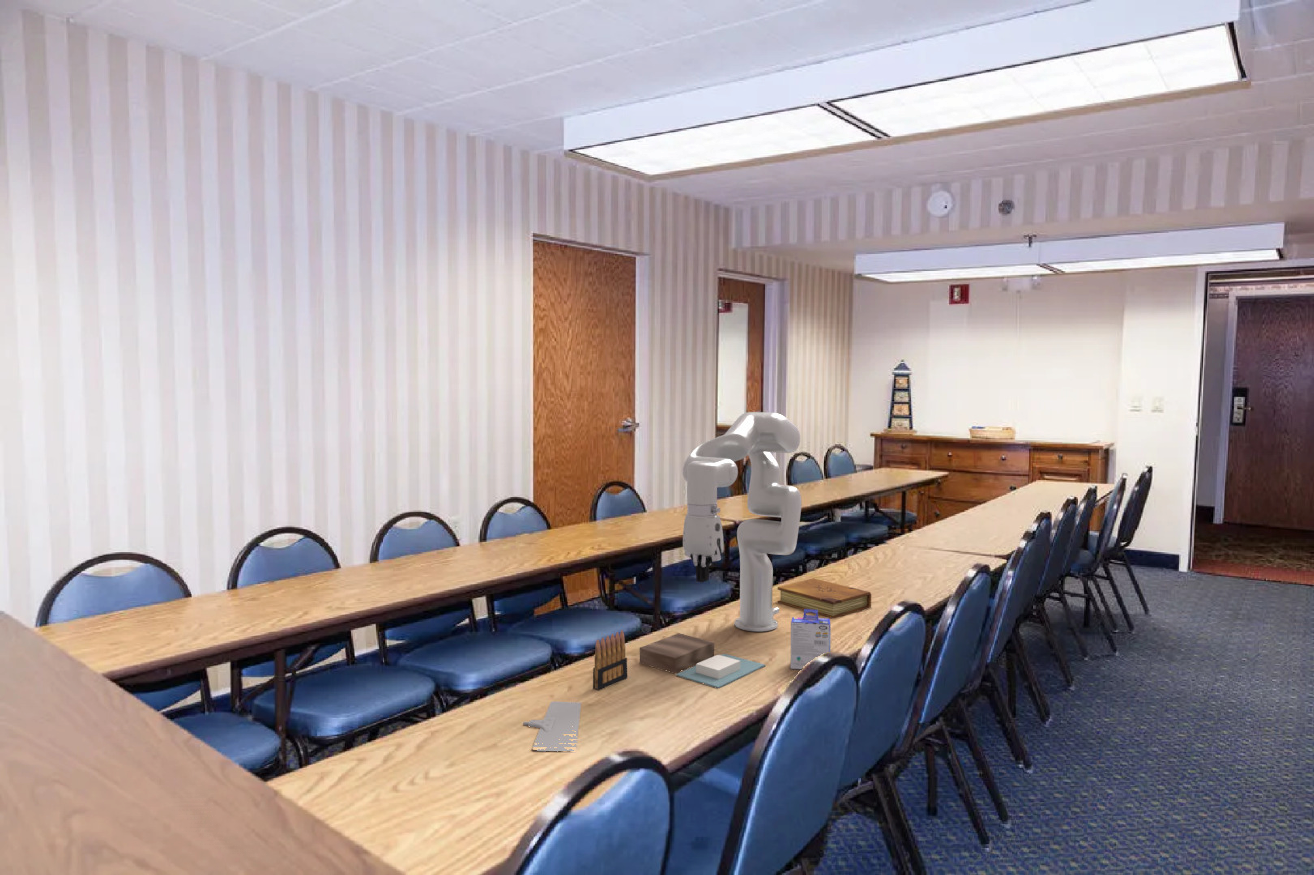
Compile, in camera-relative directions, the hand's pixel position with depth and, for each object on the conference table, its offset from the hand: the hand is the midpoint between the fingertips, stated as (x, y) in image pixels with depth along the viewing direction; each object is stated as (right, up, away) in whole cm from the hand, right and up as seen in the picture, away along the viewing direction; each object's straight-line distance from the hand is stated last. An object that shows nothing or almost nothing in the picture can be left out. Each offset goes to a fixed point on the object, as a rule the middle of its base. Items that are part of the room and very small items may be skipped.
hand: (702, 580), depth 214 cm
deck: (-6, -21, +4) cm, 23 cm away
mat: (+4, -22, -4) cm, 23 cm away
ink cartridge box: (+27, -22, -1) cm, 35 cm away
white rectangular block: (+4, -21, -5) cm, 21 cm away
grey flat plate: (-28, -25, -36) cm, 52 cm away
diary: (+42, -18, +56) cm, 72 cm away
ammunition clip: (-23, -23, -12) cm, 35 cm away
